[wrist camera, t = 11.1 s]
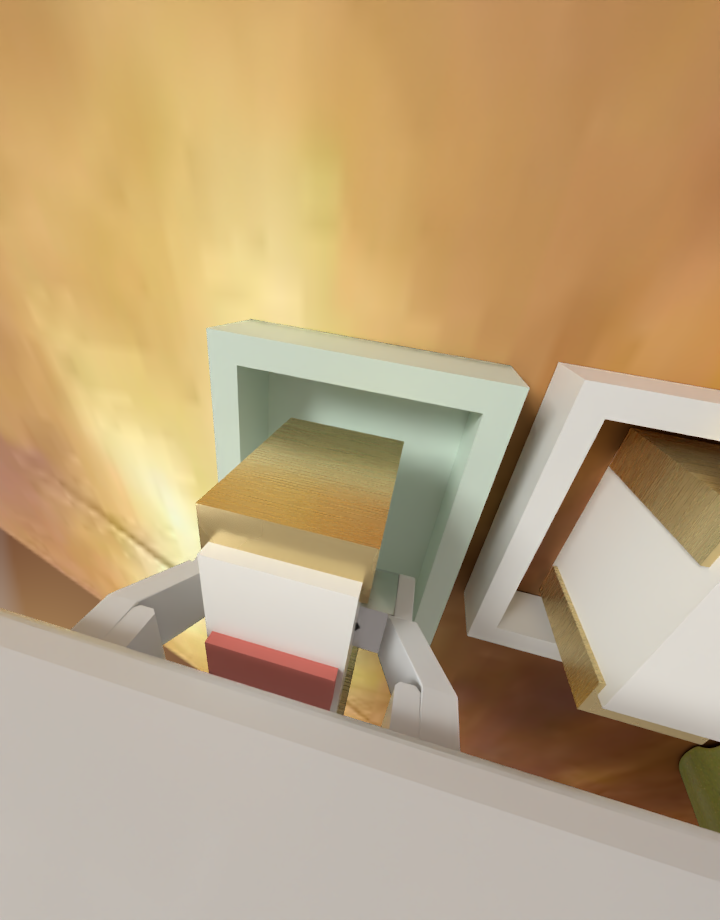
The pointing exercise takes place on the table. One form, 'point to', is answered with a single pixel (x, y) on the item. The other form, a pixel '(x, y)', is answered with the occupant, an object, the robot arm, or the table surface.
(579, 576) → the plain fuse
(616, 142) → the table surface
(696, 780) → the plant pot
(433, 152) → the table surface
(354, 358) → the sage tray
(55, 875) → the robot arm
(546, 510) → the clip rack
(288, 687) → the block
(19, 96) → the table surface
